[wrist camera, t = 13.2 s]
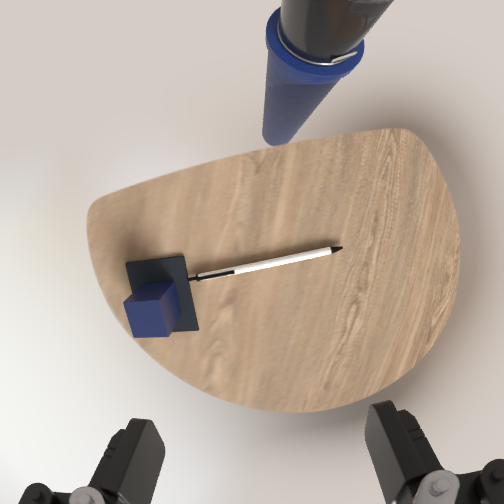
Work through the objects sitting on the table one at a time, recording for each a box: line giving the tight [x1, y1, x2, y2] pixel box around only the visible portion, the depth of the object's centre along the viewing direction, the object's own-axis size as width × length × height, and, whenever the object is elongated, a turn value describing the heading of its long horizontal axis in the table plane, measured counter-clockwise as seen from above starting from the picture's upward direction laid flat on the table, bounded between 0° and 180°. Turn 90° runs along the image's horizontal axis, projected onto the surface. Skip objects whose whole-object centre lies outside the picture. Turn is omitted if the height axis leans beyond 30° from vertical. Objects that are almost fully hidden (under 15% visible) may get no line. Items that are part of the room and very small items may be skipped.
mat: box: [125, 256, 199, 332], centre depth 35 cm, size 10×8×1 cm
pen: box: [187, 247, 344, 281], centre depth 34 cm, size 1×19×1 cm, turn 102°
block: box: [123, 281, 182, 338], centre depth 32 cm, size 4×4×6 cm
